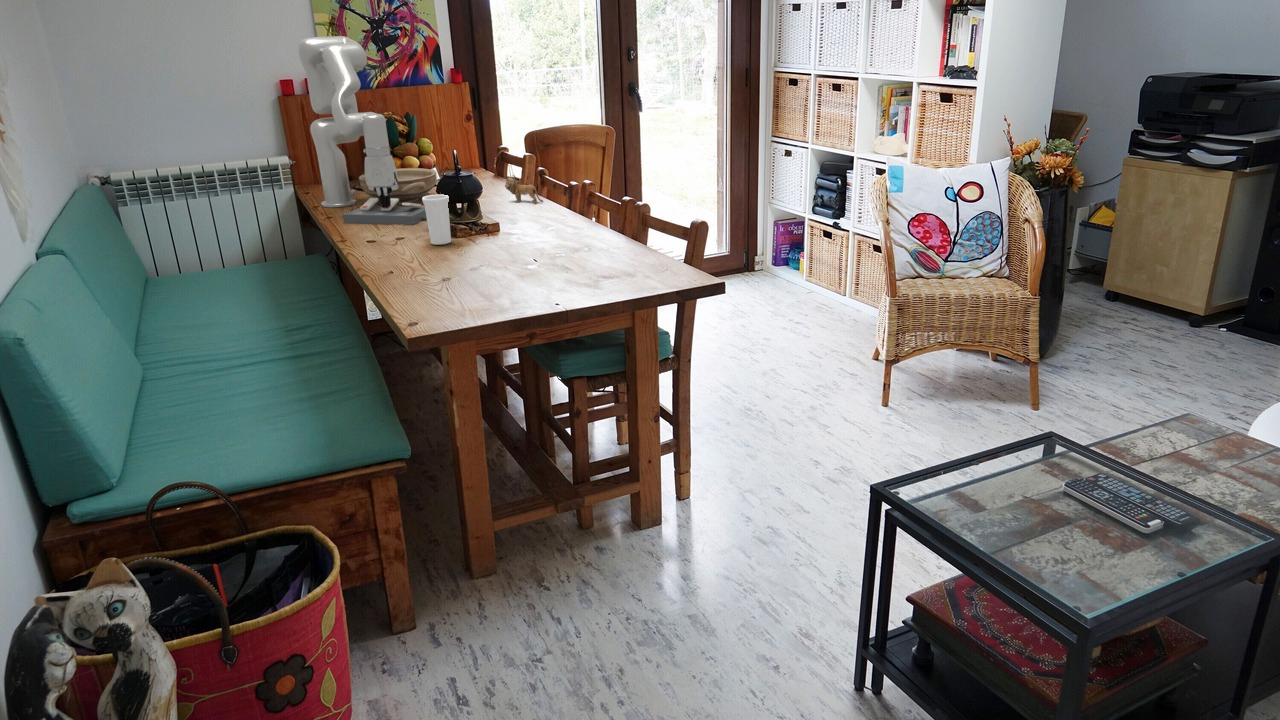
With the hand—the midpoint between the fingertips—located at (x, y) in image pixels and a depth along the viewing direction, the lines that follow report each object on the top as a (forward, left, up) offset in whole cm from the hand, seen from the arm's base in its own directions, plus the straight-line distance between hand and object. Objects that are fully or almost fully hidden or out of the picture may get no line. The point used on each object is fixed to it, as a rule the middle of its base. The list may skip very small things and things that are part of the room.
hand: (386, 206), depth 297 cm
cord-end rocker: (-4, +8, -1) cm, 8 cm away
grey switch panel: (-1, +3, -5) cm, 5 cm away
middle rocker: (-4, 0, -1) cm, 4 cm away
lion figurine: (-33, +37, -5) cm, 50 cm away
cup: (+28, +34, -5) cm, 44 cm away
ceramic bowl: (-32, -12, -5) cm, 35 cm away
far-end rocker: (-4, -8, -1) cm, 9 cm away
